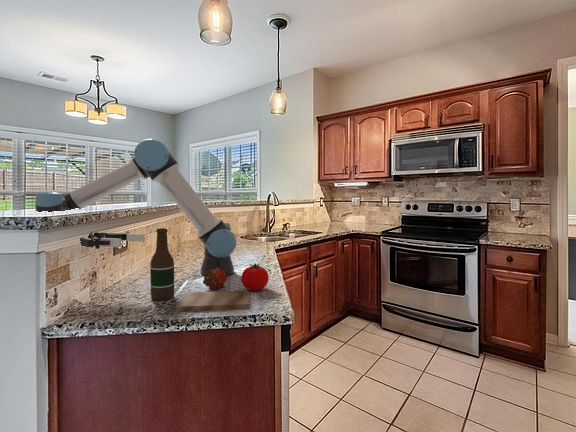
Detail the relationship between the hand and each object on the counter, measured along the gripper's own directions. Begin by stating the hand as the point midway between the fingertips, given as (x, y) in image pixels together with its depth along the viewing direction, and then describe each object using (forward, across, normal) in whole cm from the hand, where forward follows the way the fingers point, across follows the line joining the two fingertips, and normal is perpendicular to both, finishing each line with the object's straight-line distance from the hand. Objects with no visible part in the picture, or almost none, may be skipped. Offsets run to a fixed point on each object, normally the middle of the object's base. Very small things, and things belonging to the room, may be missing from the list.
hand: (133, 240), depth 104 cm
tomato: (+40, -13, -19) cm, 47 cm away
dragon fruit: (+25, -14, -20) cm, 34 cm away
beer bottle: (+10, 0, -20) cm, 22 cm away
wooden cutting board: (+30, +2, -19) cm, 36 cm away
